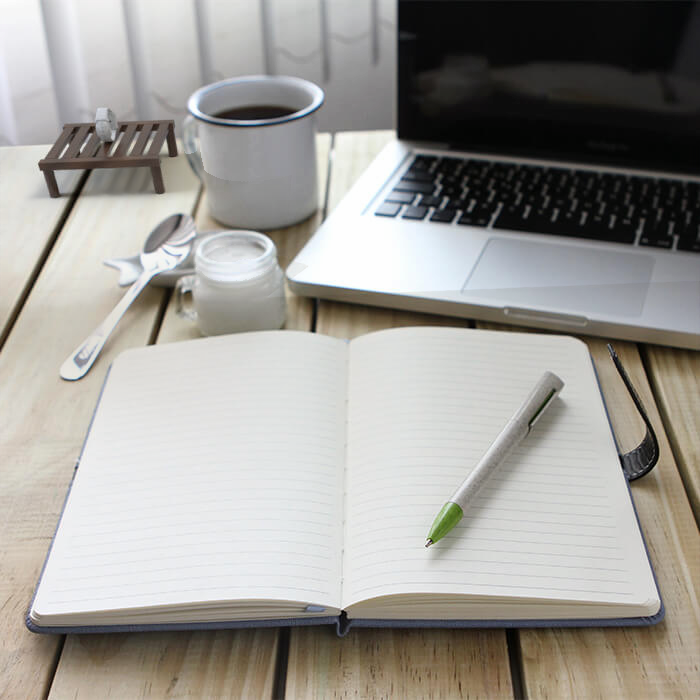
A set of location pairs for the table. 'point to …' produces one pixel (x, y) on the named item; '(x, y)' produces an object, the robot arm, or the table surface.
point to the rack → (109, 150)
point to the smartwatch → (106, 124)
